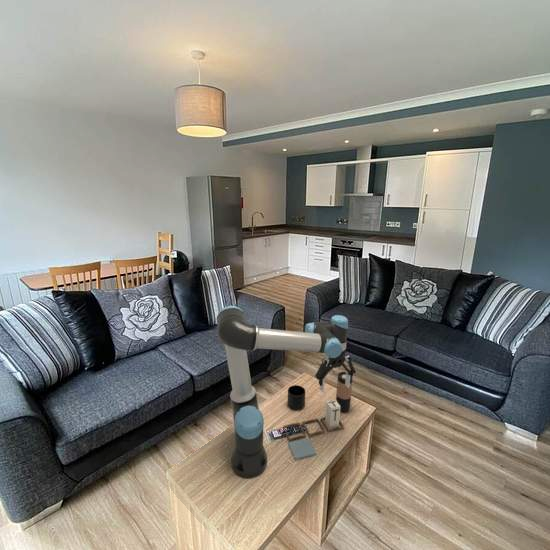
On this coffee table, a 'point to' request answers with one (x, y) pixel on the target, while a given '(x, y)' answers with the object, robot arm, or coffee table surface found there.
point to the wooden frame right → (332, 428)
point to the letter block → (332, 414)
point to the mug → (296, 397)
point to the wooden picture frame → (296, 436)
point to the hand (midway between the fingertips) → (334, 388)
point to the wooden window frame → (314, 432)
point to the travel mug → (343, 393)
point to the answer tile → (302, 449)
